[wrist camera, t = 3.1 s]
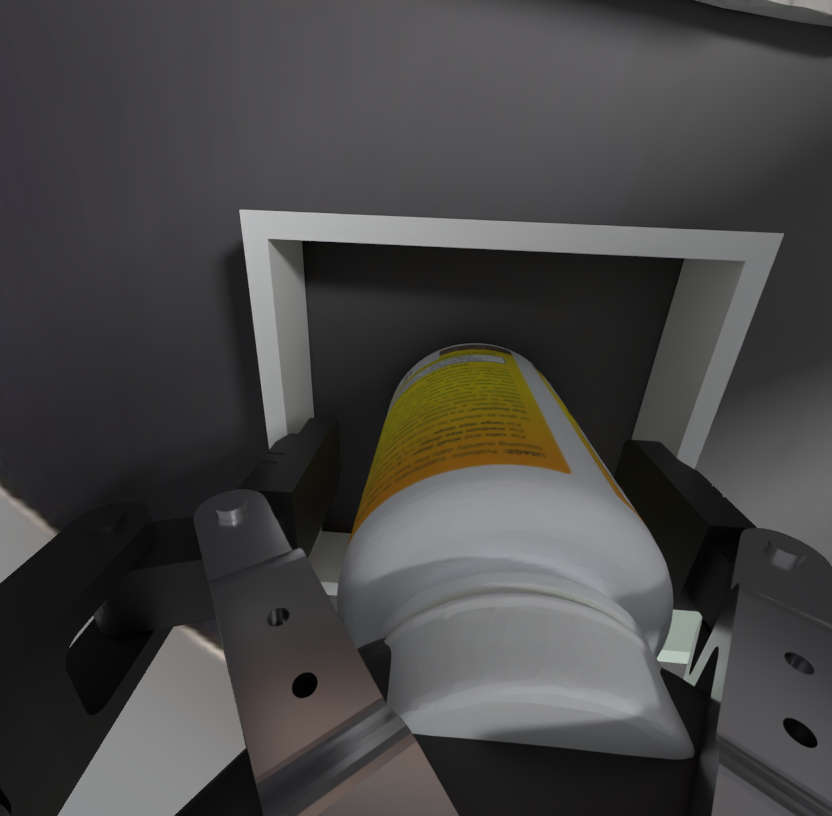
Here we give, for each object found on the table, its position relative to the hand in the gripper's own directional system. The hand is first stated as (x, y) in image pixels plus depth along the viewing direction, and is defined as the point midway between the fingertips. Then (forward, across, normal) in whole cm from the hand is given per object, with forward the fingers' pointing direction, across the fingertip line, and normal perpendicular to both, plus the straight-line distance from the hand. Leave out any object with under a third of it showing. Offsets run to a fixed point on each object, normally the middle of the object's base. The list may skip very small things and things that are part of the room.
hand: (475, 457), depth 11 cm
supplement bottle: (+3, 0, 0) cm, 3 cm away
